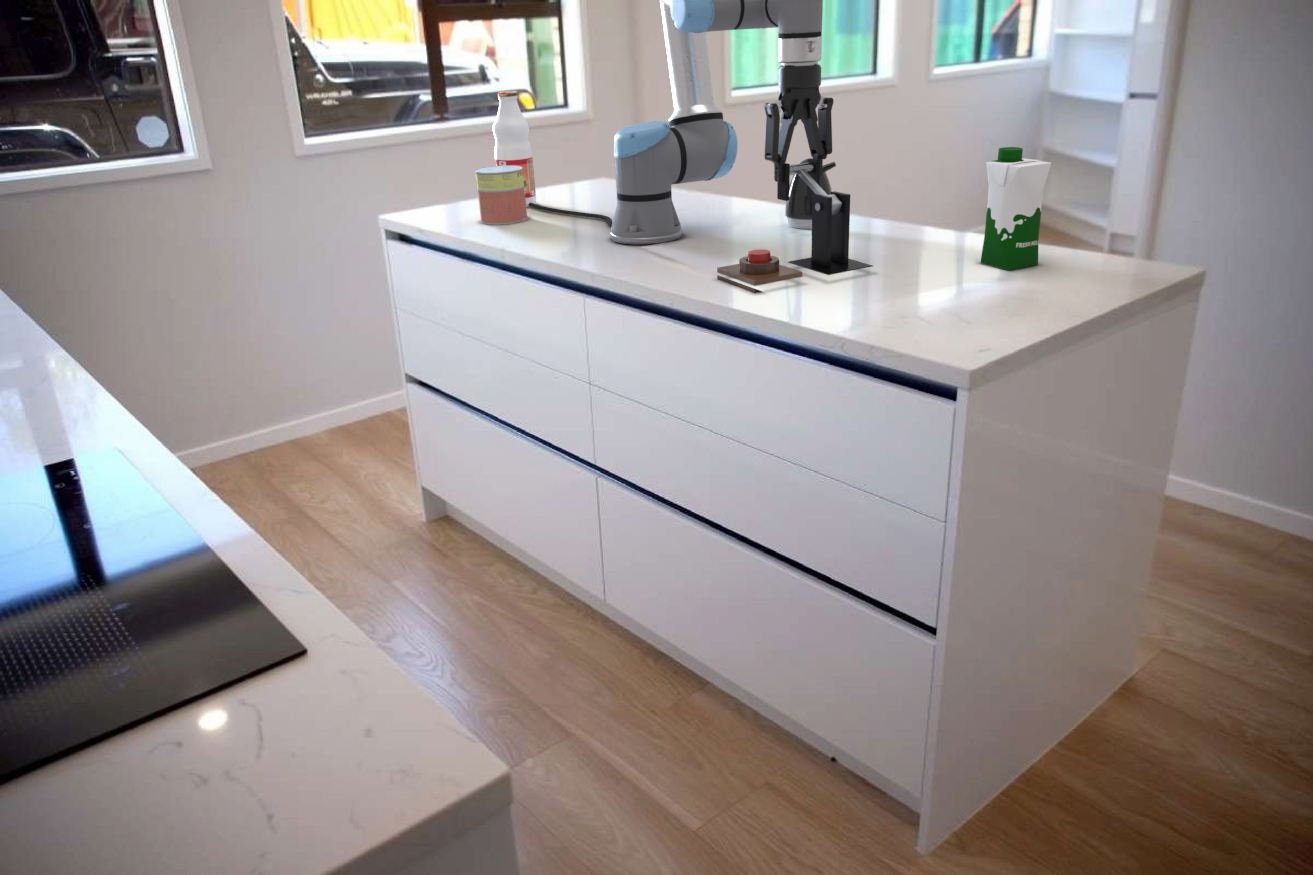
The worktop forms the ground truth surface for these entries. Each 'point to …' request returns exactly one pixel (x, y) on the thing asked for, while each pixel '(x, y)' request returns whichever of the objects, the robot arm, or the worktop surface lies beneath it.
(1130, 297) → the worktop surface
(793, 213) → the pump dispenser
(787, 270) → the button box
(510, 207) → the canned food
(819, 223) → the black lever stand
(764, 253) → the button
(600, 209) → the worktop surface
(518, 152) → the fruit juice
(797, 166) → the tap lever
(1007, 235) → the milk carton
